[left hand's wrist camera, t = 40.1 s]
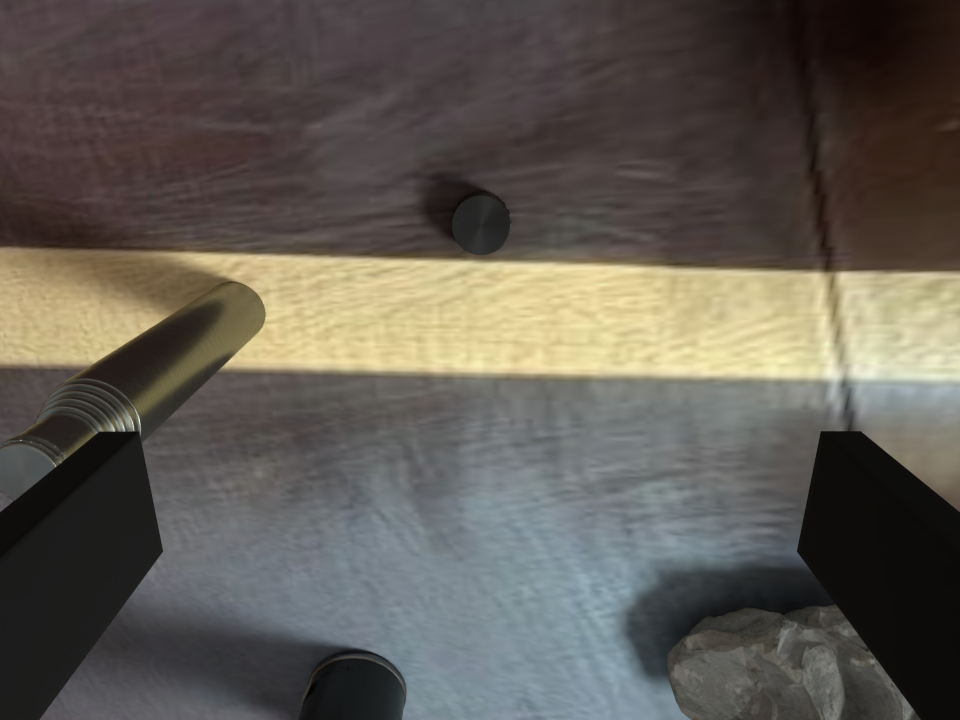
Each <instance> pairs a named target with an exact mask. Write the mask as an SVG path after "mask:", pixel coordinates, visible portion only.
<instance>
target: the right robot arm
mask: <svg viewBox="0 0 960 720" xmlns="http://www.w3.org/2000/svg"><path fill="white" fill-rule="evenodd" d="M305 696H306V697H305ZM304 698H305V700H304ZM303 700H304V704H303V707H302V710H301V713H300V716H299V720H402V716H403V708H404V705H405V701H406V684H405V681H404V679H403V677H402V675H401V673H400V672H399V671H398V670H397V669H396V668H395V667H394V666H393V665H392V664H391V663H389V662H388V661H386V660H385V659H383V658H381V657H378V656H376V655H373V654H369V653H363V652H346V653H340V654H337V655H334V656H331V657H329V658H327V659H326V660H324V661H323V662H321V663H320V664H319V665H318V666H317V667H316V668H315V670H314V671H313V673H312V675H311V677H310V680H309V683H308V687H307V689H306V691H305V693H304V695H303V697H302V700H301V703H300V706H301V704H302V702H303ZM299 708H300V707H299Z"/></svg>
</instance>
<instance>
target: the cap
mask: <svg viewBox="0 0 960 720" xmlns="http://www.w3.org/2000/svg"><path fill="white" fill-rule="evenodd" d="M453 214H454V215H453V218H452V221H451V223H452V232H453V235H454V238H455V240H456V241H457V243H458V244H459V245H460V246H461V247H462V248H463V249H464V250H466V251H467V252H470V253H472V254H477V255H486V254H490V253H493V252H495V251H497V250H498V249H500V248H501V247H502V246H503V245H504V243H505V242H506V241H507V239H508V237H509V234H510V232H511V230H510V229H511V219H510V216H509V214H510V213H509V210H507V208H506V206H505V203H504V202H502V200H501V199H499V198H498V196H495V195H493V194H491V193H490V192H489V193H488V192H482V191H480V192H475V193H473V192H472V194H469V195H467V196H466V197H465V196H464V198H463V199H462V200H461V201H460V202H458V204H457V207H456V209H455V210H454V211H453Z"/></svg>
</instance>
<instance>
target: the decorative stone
mask: <svg viewBox="0 0 960 720" xmlns="http://www.w3.org/2000/svg"><path fill="white" fill-rule="evenodd" d="M667 669H668V676H669V681H670V684H671V688H672V690H673V693H674V696H675V699H676V702H677V704H678V706H679V708H680V710H681V712H682V713H684V714H685V715H686V716H687V717H688V718H690V719H691V720H921V719H920V718H919V717H918V715H917V714H916V713H915V711H914V710H913V708H912V707H911V706H910V704H909V703H908V702H907V700H906V699H905V698H904V696H903V695H902V693H901V692H900V691H899V689H898V688H897V687H896V685H895V684H894V683H893V681H892V680H891V679H890V677H889V676H888V674H887V673H886V672H885V670H884V669H883V668H882V666H881V665H880V664H879V662H878V661H877V660H876V658H875V657H874V655H873V654H872V653H871V651H870V650H869V649H868V647H867V646H866V645H865V643H864V642H863V640H862V639H861V638H860V636H859V635H858V634H857V632H856V631H855V630H854V628H853V627H852V626H851V624H850V623H849V621H848V620H847V619H846V617H845V616H844V615H843V613H842V612H841V611H840V609H839V608H838V607H837V605H836V604H835V605H830V606H826V607H822V606H809V607H806V608H804V609H799V610H793V611H790V612H788V613H786V614H784V615H782V614H781V613H777V612H768V611H765V610H762V609H759V608H756V607H744V608H742V609H740V610H738V611H734V612H728V613H727V614H725V615H723V616H717V617H713V616H710V615H709V616H707V617H706V618H704V619H703V620H702V621H700V622H699V623H698V624H697V625H696V626H695V627H694V628H692V630H691V631H690V633H689V634H688V635H687V636H685V637H684V638H682V639H681V640H680V641H679V642H678V643H677V644H676V645H675V646H674V647H673V649H672V650H670V651H669V652H668V654H667Z"/></svg>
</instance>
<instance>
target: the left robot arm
mask: <svg viewBox="0 0 960 720" xmlns="http://www.w3.org/2000/svg"><path fill="white" fill-rule="evenodd" d="M162 552H163V549H162V544H161V539H160V534H159V529H158V524H157V519H156V514H155V509H154V504H153V499H152V494H151V489H150V483H149V478H148V473H147V468H146V463H145V458H144V453H143V448H142V443H141V438H140V433H139V431H99V432H98V433H97V434H96V435H94V436H93V437H92V438H91V439H89V440H88V441H87V442H86V443H85V444H83V445H82V446H81V447H80V448H78V449H77V450H76V451H75V452H74V453H72V454H71V455H70V456H69V457H67V458H66V459H65V460H64V461H62V462H61V463H60V464H59V465H58V466H56V467H55V468H54V469H53V470H51V471H50V472H49V473H48V474H47V475H45V476H44V477H43V478H42V479H40V480H39V481H38V482H37V483H36V484H34V485H33V486H32V487H31V488H29V489H28V490H27V491H26V492H25V493H23V494H22V495H21V496H20V497H18V498H17V499H16V500H15V501H13V502H12V503H11V504H10V505H9V506H7V507H6V508H5V509H4V510H2V511H1V512H0V720H39V719H40V718H41V717H42V715H43V714H44V712H45V711H46V710H47V708H48V707H49V706H50V704H51V703H52V702H53V700H54V699H55V698H56V696H57V695H58V693H59V692H60V691H61V689H62V688H63V687H64V685H65V684H66V683H67V681H68V680H69V679H70V677H71V676H72V674H73V673H74V672H75V670H76V669H77V668H78V666H79V665H80V664H81V662H82V661H83V660H84V658H85V657H86V655H87V654H88V653H89V651H90V650H91V649H92V647H93V646H94V645H95V643H96V642H97V640H98V639H99V638H100V636H101V635H102V634H103V632H104V631H105V630H106V628H107V627H108V626H109V624H110V623H111V621H112V620H113V619H114V617H115V616H116V615H117V613H118V612H119V611H120V609H121V608H122V607H123V605H124V604H125V602H126V601H127V600H128V598H129V597H130V596H131V594H132V593H133V592H134V590H135V589H136V587H137V586H138V585H139V583H140V582H141V581H142V579H143V578H144V577H145V575H146V574H147V573H148V571H149V570H150V568H151V567H152V566H153V564H154V563H155V562H156V560H157V559H158V558H159V556H160V555H161V554H162ZM797 552H798V554H799V555H800V556H801V558H802V559H803V560H804V562H805V563H806V564H807V566H808V567H809V568H810V570H811V571H812V573H813V574H814V575H815V577H816V578H817V579H818V581H819V582H820V583H821V585H822V586H823V587H824V589H825V590H826V592H827V593H828V594H829V596H830V597H831V598H832V600H833V601H834V602H835V604H836V605H837V607H838V608H839V609H840V611H841V612H842V613H843V615H844V616H845V617H846V619H847V620H848V621H849V623H850V624H851V626H852V627H853V628H854V630H855V631H856V632H857V634H858V635H859V636H860V638H861V639H862V640H863V642H864V643H865V645H866V646H867V647H868V649H869V650H870V651H871V653H872V654H873V655H874V657H875V658H876V660H877V661H878V662H879V664H880V665H881V666H882V668H883V669H884V670H885V672H886V673H887V674H888V676H889V677H890V679H891V680H892V681H893V683H894V684H895V685H896V687H897V688H898V689H899V691H900V692H901V693H902V695H903V696H904V698H905V699H906V700H907V702H908V703H909V704H910V706H911V707H912V708H913V710H914V711H915V713H916V714H917V715H918V717H919V718H920V719H921V720H960V512H959V511H958V510H956V509H955V508H954V507H953V506H951V505H950V504H949V503H948V502H947V501H945V500H944V499H943V498H942V497H940V496H939V495H938V494H937V493H935V492H934V491H933V490H932V489H931V488H929V487H928V486H927V485H926V484H924V483H923V482H922V481H921V480H920V479H918V478H917V477H916V476H915V475H913V474H912V473H911V472H910V471H909V470H907V469H906V468H905V467H904V466H902V465H901V464H900V463H899V462H898V461H896V460H895V459H894V458H893V457H891V456H890V455H889V454H888V453H886V452H885V451H884V450H883V449H882V448H880V447H879V446H878V445H877V444H875V443H874V442H873V441H872V440H871V439H869V438H868V437H867V436H866V435H864V434H863V433H862V432H861V431H821V433H820V438H819V443H818V448H817V453H816V458H815V463H814V468H813V473H812V478H811V483H810V489H809V494H808V499H807V504H806V509H805V514H804V519H803V524H802V529H801V534H800V539H799V544H798V549H797Z"/></svg>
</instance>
